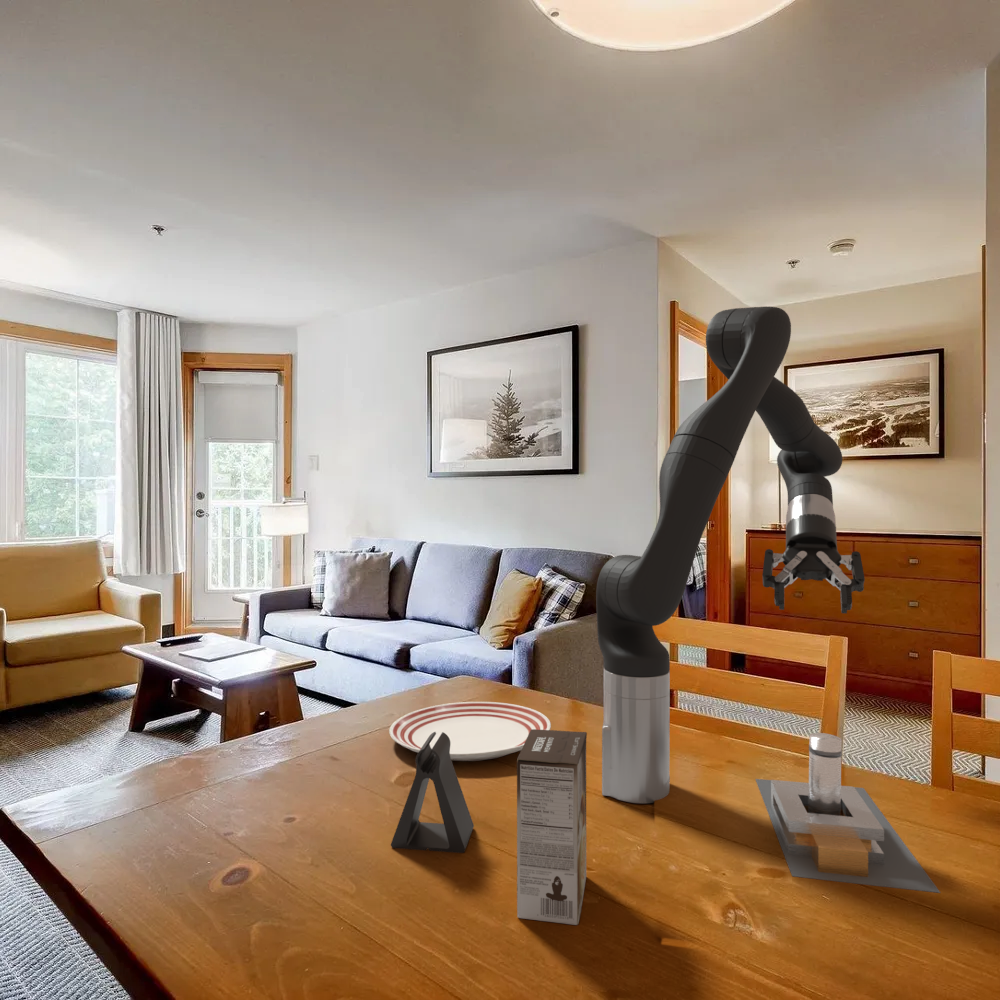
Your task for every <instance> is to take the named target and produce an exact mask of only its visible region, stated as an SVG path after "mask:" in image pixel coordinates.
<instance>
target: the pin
mask: <svg viewBox="0 0 1000 1000" xmlns="http://www.w3.org/2000/svg"><path fill="white" fill-rule="evenodd" d="M842 742H843V741H842V738H841V737H839V736H837V735H835V734H830V733H825V732H813V733H810V734H809V743H808V754H809V755H808V756H809V759H808V783H809V800H808V813H815V814H826V815H836V816H840V807H841V786H842V756H843V750H842V745H843V744H842Z"/></svg>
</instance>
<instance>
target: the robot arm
mask: <svg viewBox="0 0 1000 1000" xmlns="http://www.w3.org/2000/svg"><path fill="white" fill-rule="evenodd" d="M791 334H792V323H791V318H790V316H789V314H788V313H787V312H786V310H784V309H783V308H780V307H778V306H751V307H739V308H738V307H737V308H730V309H724V310H721V311H719V312H716V314H714V315H713V316H712V318H711V319H710V321H709V323H708V325H707V327H706V333H705V346H706V350H707V353H708V356H709V357H710V359H711V362H712V363H713V364H714V365H715V366H716V368H717V369H718V370H719V371H720V372H721V373H722V374H723V376H724V377H725V378H726V379H727V381H726V382H725V384H724V385H722V387H721V388H720V389H719V390H718V391H717V392H716V393H715V394H713V395H712V396H711V397H710V398H709V399H708V400H706V401H705V402H704V403H702V404H701V405H700V406H699V407H698V408H697V409H696V410H694V411H693V412H692V413H691V414H690V415H689V416H688V417H687V418H686V419H685V420H684V421H683V422H682V423H681V425H680V426H679V427H678V428H677V430H676V431H675V434H674V436H673V437H672V440H671V442H670V445H669V447H668V449H667V451H666V453H665V456H664V458H663V460H662V463H661V466H660V470H659V478H658V480H659V481H658V483H659V485H658V487H659V488H658V489H659V491H658V492H659V516H658V519H657V523H656V526H655V528H654V531H653V533H652V535H651V538H650V540H649V542H648V544H647V546H646V549H645V550H644V552H643V554H642V555H641V556H640V555H639V556H638V555H631V554H620V555H616V556H614V557H612V558H610V559H609V560H607V562H605V564H604V565H603V566H602V568H601V570H600V572H599V575H598V578H597V583H596V592H595V594H596V595H595V597H596V600H595V601H596V605H595V606H596V628H597V629H596V630H597V641H598V646H599V649H600V652H601V654H602V658H603V722H602V728H601V737H602V738H601V753H602V754H601V777H602V778H601V795H602V796H607V797H611V798H614V799H616V800H618V801H622V802H627V803H631V804H653V803H655V801H658V800H662V799H664V798H665V797H667V796H668V795H669V794H670V783H671V780H670V779H671V777H670V775H671V774H670V755H671V754H670V749H671V747H670V744H671V743H670V731H671V730H670V724H671V723H670V719H671V718H670V712H671V710H670V707H671V705H670V703H671V702H670V696H671V695H670V688H671V687H670V680H671V679H670V674H671V673H670V672H671V671H670V665H671V664H670V652H669V650H668V649H667V648H666V647H665V646H664V644H662V642H661V641H660V640H659V638H658V637H657V635H656V632H655V631H654V626H655V627H656V626H659V625H661V624H662V625H663V624H664V623H666V621H668V620H669V619H671V617H672V616H673V615H674V614H675V612H676V610H677V608H678V607H679V606H680V603H681V600H682V598H683V596H684V592H685V589H686V586H687V583H688V581H689V576H690V574H691V570H692V567H693V564H694V561H695V557H696V555H697V552H698V551H697V550H698V548H699V545H700V542H701V538H702V537H703V534H704V531H705V529H706V527H707V525H708V522H709V519H710V517H711V514H712V512H713V509H714V506H715V505H716V501H717V500H718V497H719V495H720V492H721V491H722V489H723V487H724V484H725V482H726V480H727V478H728V476H729V474H730V471H731V468H732V467H733V463H734V462H735V459H736V456H737V454H738V452H739V448H740V446H741V443H742V441H743V438H744V436H745V434H746V432H747V430H748V427H749V425H750V423H751V420H752V418H753V416H754V414H755V412H756V413H757V414H758V415H759V418H760V419H761V421H762V422H763V424H764V426H765V427H766V429H767V431H768V434H770V436H771V438H772V440H773V441H774V443H775V445H776V446H777V447H778V449H780V451H779V452H778V455H777V457H776V463H777V466H778V467H777V468H778V469H779V473H780V474H781V477H782V478H783V480H784V484H785V487H786V490H787V510H786V515H785V551H783V553H777V552H776V553H775V552H774V551H773V550H772V549H770V548H768V549H765V551H764V558H763V559H764V560H763V566H762V567H763V569H762V576H761V577H762V585H763V587H764V588H772V589H773V590H774V592H773V593H774V597H773V598H774V599H773V601H774V605H775V606H776V607H779V609H778V610H780V611H782V610H783V611H784V610H785V589H786V588H787V587H788V586H789V585H792V584H794V582H795V581H796V580H797V579H800V580H801V581H808V580H813V581H819V582H823V581H824V580H826V581H827V582H828V583H829V584H831V586H832V587H836V588H837V589H838V590H839V591H840V608H841V609H840V611H841V612H840V613H841V614H848V611H851V610H852V608H853V595H852V594H853V592H855V591H856V592H858V593H860V592H863V591H864V588H865V585H864V583H865V580H866V579H865V573H864V572H865V571H864V568H863V561H862V556H861V553H860V552H859V551H852V552H851V554H845V555H843V554H840V553H839V550H838V545H837V544H838V539H837V524H836V514H835V510H834V501H833V487H832V484H831V482H830V481H829V479H828V478H826V477H829V476H832V475H835V474H836V473H838V472H839V470H840V469H841V468H842V465H843V453H842V451H841V449H840V446H839V444H837V442H836V440H834V439H833V438H832V437H831V436H830V435H829V434H828V433H826V431H824V430H823V429H822V428H821V427H820V426H819V425H818V424H816V423H815V421H814V419H813V417H812V415H811V413H810V411H809V410H808V407H807V405H806V403H805V402H804V401H803V399H802V398H801V397H800V395H799V394H797V392H795V391H794V390H793V389H792V388H791V387H789V385H787V384H785V383H784V382H782V381H781V380H779V379H778V378H777V377H775V376H776V374H777V372H778V370H779V368H780V366H781V365H782V363H783V361H784V358H785V356H786V354H787V351H788V348H789V345H790V341H791V336H792V335H791ZM779 563H783V564H784V567H783V568H782V570H781V572H779V573H778V574H776V576H774V575H773V569H774V568H776V567H777V566H778V565H779ZM841 564H842V565H844V566H845V567H846V568H847V569H848V571H851V574H852V578H851V579H850V578H849V577H848V576H847V575H846V574H845V573H844V572H843V570H842V568H841V567H840V566H841Z"/></svg>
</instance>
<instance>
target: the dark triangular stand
mask: <svg viewBox="0 0 1000 1000" xmlns="http://www.w3.org/2000/svg"><path fill="white" fill-rule="evenodd" d="M435 735H436V732H433V733H432V734H431V735H430V736H429V737H428V739H427V740H426V742H425V743H424V745H423V746H422V748H421V749H420V751H419V752H418V753H417V754H416V755H415V759H414V760H415V777H414V779H413V781H412V785H411V787H410V790H409V793H408V796H407V798H406V802H405V803H404V807H403V810H402V813H401V815H400V817H399V820H398V824H397V827H396V829H395V832H394V834H393V836H392V837H393V838H392V841H391V844H390V846H391V848H392V849H399V850H400V849H403V850H415V851H427V850H428V851H430V852H431V851H432V852H440V853H441V852H442V853H455V854H457V853H458V854H463V853H465V851H466V849H467V846H468V843H469V840H470V837H471V835H472V832H473V829H474V827H475V825H474V821H473V819H472V816H471V813H470V810H469V807H468V804H467V802H466V799H465V796H464V794H463V790H462V788H461V785H460V782H459V779H458V776H457V773H456V770H455V767H454V765H453V760H451V758H450V739H449V737H448V736H447V735H446V734H445V733H443V732H442V734H441V735H440V737H439V738H438V740H437V742H436V743H435V745H434V746H433V748H432V749H431V747H430V742H431V741H432V739H433V738H434V736H435ZM430 780H431V781H432V783H433V786H434V790H435V794H436V798H437V802H438V805H439V810H440V814H441V817H442V822H443V823H439V822H424V821H423V822H422V821H420V820H419V819H420V816H421V812H422V808H423V804H424V801H425V796H426V792H427V789H428V785H429V781H430Z"/></svg>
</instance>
